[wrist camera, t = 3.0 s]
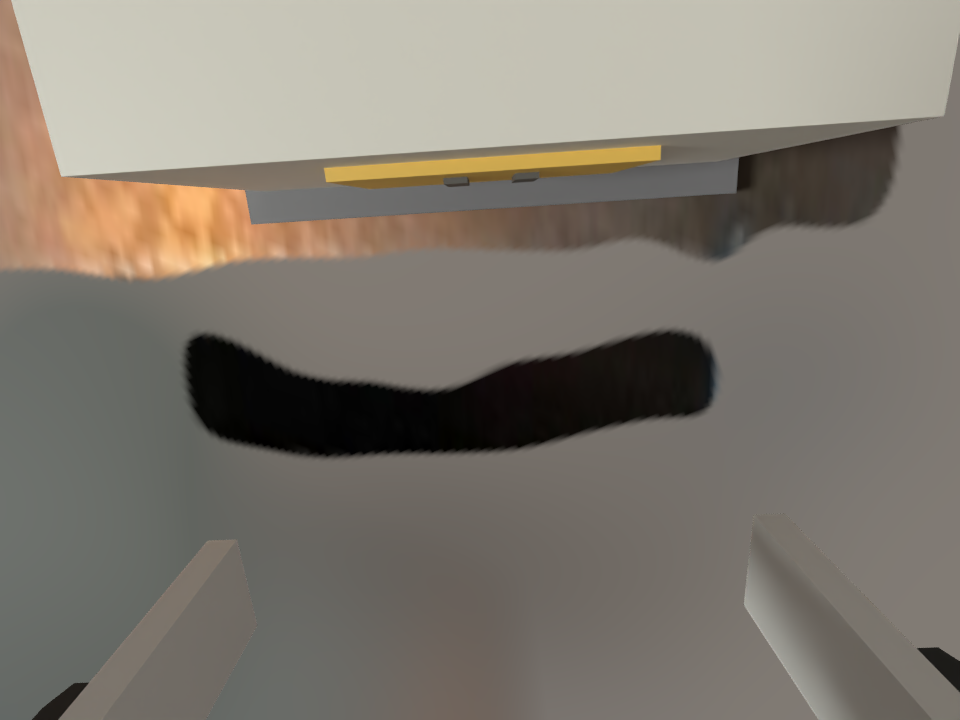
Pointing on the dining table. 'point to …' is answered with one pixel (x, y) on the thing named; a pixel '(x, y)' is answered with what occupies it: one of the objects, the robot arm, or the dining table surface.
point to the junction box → (469, 94)
